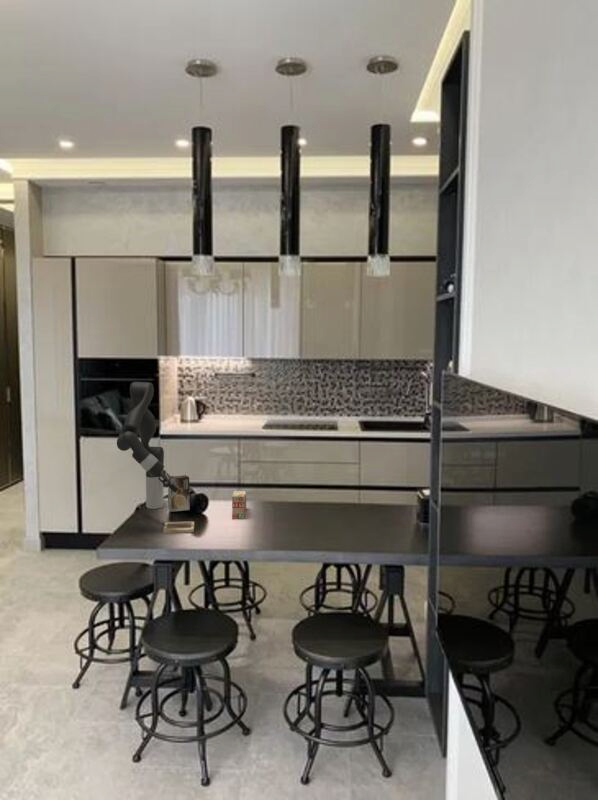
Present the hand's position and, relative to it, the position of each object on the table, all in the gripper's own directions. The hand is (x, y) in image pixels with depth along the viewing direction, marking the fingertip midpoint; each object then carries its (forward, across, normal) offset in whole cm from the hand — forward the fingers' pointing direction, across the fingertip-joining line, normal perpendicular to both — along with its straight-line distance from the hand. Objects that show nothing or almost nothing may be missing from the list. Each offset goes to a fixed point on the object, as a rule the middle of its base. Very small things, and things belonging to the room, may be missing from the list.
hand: (176, 489), depth 294 cm
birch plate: (+15, 0, +13) cm, 19 cm away
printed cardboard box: (+36, +24, -8) cm, 44 cm away
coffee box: (+8, 0, +6) cm, 10 cm away
